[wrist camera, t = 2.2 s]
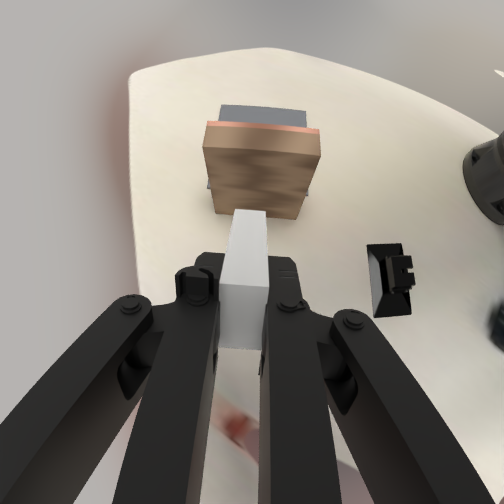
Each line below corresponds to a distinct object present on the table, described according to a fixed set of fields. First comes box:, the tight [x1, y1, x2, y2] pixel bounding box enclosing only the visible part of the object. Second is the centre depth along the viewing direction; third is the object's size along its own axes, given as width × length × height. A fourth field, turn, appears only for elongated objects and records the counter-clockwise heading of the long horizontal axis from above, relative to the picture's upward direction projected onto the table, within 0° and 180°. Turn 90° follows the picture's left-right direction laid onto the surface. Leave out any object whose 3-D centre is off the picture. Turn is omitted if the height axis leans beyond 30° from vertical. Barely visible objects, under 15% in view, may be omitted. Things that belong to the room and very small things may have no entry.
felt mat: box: [207, 105, 308, 196], centre depth 41 cm, size 13×15×1 cm
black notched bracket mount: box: [367, 243, 415, 318], centre depth 34 cm, size 12×7×5 cm, turn 2°
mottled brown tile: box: [202, 121, 321, 220], centre depth 32 cm, size 10×3×14 cm, turn 86°
